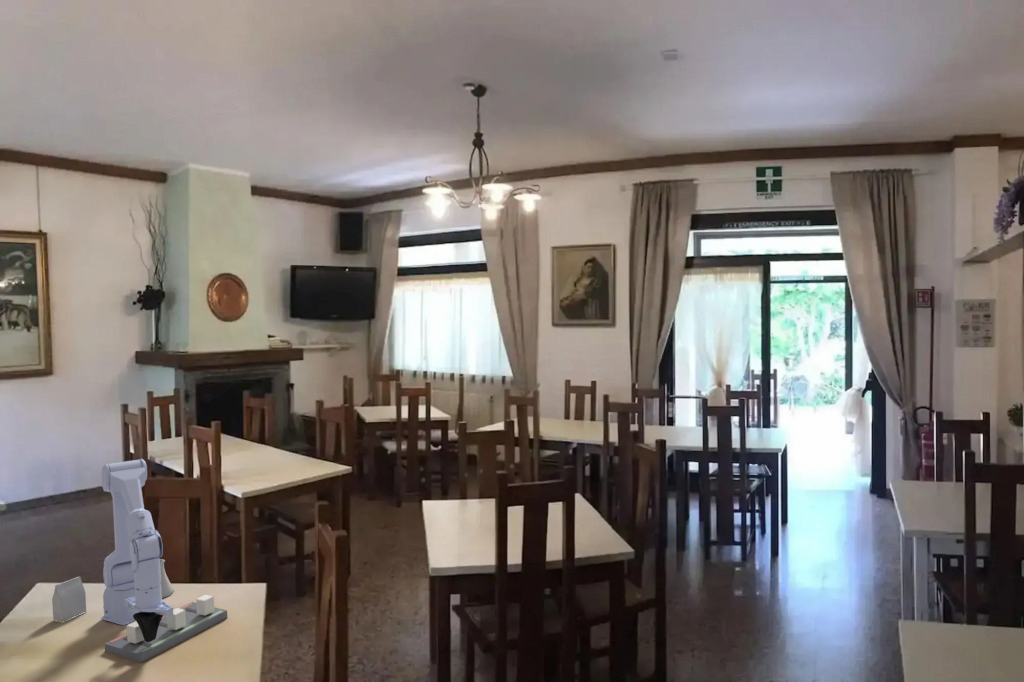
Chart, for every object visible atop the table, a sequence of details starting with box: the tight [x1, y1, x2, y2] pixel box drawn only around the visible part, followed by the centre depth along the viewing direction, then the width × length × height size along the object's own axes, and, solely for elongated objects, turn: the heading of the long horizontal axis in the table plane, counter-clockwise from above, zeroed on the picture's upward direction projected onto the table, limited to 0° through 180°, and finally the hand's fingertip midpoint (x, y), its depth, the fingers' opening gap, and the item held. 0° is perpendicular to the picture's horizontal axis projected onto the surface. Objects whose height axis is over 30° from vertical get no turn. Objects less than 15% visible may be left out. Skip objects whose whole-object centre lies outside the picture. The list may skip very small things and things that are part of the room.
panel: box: [104, 601, 228, 663], centre depth 185 cm, size 13×26×2 cm, turn 155°
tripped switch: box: [126, 620, 144, 644], centre depth 177 cm, size 3×3×4 cm
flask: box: [160, 558, 175, 599], centre depth 209 cm, size 7×7×10 cm
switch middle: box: [167, 607, 186, 630], centre depth 184 cm, size 3×3×4 cm
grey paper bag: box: [51, 576, 87, 622], centre depth 195 cm, size 4×7×10 cm, turn 156°
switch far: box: [195, 594, 215, 615], centre depth 192 cm, size 3×3×4 cm
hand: (150, 640), depth 175 cm, fingers closed
